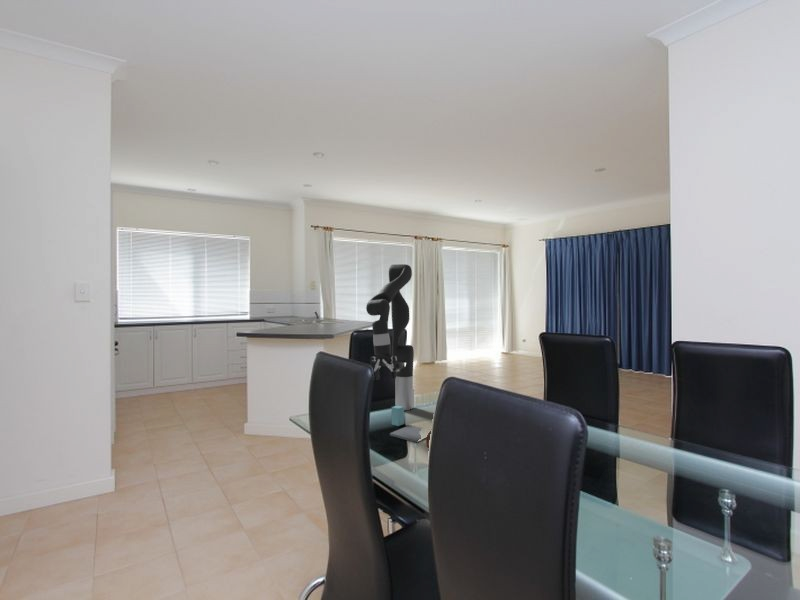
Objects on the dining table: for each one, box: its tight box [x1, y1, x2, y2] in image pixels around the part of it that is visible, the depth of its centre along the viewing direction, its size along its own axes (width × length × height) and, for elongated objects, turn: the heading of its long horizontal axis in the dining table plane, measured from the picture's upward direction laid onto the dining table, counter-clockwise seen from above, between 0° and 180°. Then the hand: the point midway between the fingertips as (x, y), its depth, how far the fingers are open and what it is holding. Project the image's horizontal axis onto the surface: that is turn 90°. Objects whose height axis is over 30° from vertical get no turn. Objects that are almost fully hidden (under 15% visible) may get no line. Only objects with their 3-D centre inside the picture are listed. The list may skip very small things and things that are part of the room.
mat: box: [389, 424, 423, 442], centre depth 176 cm, size 14×14×1 cm
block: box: [391, 405, 405, 427], centre depth 190 cm, size 4×4×8 cm
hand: (385, 379), depth 187 cm, fingers open, 8 cm apart
